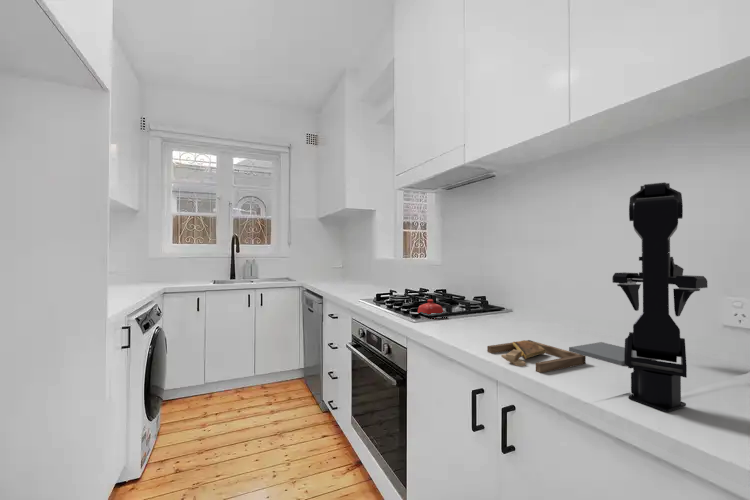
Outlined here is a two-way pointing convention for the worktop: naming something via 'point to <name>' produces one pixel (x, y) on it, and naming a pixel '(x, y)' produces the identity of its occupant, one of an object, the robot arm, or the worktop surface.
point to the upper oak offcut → (513, 355)
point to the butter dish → (430, 307)
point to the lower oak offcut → (517, 362)
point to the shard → (528, 348)
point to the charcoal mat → (603, 352)
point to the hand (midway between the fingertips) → (656, 313)
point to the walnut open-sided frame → (564, 356)
